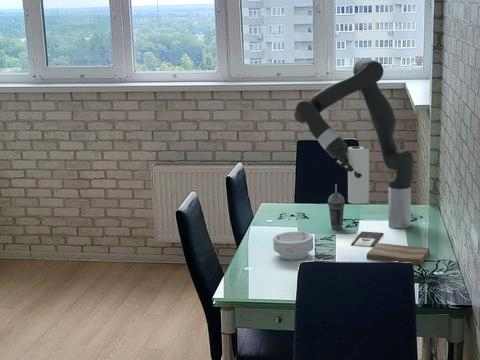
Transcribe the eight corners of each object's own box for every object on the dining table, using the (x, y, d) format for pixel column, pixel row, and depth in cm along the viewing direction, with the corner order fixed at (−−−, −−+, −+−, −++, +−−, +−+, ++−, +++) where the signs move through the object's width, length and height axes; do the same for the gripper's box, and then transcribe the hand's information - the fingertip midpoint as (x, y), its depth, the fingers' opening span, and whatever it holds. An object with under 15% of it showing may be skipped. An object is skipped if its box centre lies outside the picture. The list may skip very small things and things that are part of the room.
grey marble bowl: (267, 253, 274) (266, 234, 273) (303, 247, 280) (302, 228, 278) (283, 265, 261) (282, 244, 259) (320, 258, 266) (320, 238, 264)
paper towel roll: (344, 201, 270) (344, 147, 265) (358, 199, 273) (358, 145, 268) (355, 206, 264) (355, 149, 259) (369, 203, 266) (369, 148, 261)
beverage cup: (345, 225, 306) (344, 181, 302) (345, 230, 299) (345, 184, 295) (328, 226, 307) (327, 181, 303) (328, 231, 300) (327, 185, 296)
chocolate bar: (383, 232, 292) (373, 245, 276) (383, 235, 292) (373, 248, 276) (361, 231, 296) (351, 244, 280) (361, 233, 296) (351, 246, 280)
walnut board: (377, 247, 275) (377, 243, 274) (429, 253, 266) (429, 248, 265) (366, 259, 263) (366, 253, 262) (420, 265, 254) (420, 259, 253)
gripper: (330, 139, 261) (361, 173, 257) (346, 133, 273) (376, 166, 269) (317, 152, 265) (348, 186, 261) (333, 146, 277) (363, 178, 273)
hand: (362, 176), depth 265 cm, fingers closed on paper towel roll, 3 cm apart
